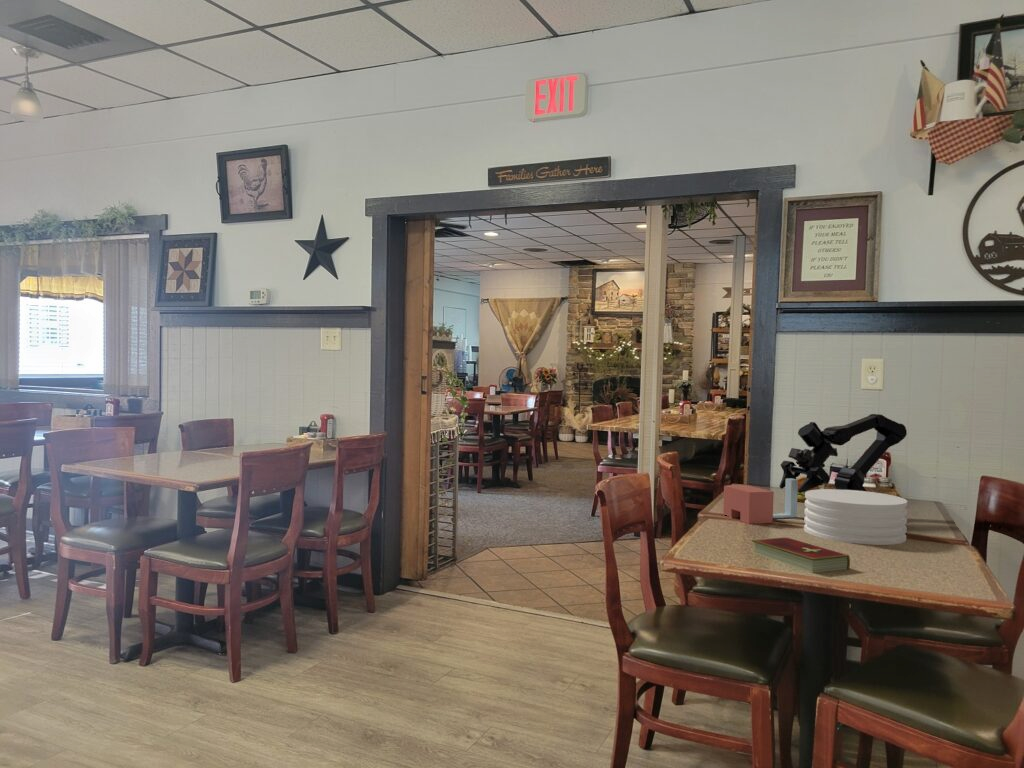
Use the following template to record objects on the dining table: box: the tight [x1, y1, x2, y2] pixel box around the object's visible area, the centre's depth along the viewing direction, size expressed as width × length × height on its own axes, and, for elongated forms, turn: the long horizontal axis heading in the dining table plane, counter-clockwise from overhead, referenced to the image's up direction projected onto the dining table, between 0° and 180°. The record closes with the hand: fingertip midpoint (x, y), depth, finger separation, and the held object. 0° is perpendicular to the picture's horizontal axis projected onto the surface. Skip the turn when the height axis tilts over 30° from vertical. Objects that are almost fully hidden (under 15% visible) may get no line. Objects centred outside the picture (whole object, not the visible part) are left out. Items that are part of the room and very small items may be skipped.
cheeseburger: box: [796, 476, 820, 503], centre depth 282 cm, size 10×11×10 cm
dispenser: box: [722, 484, 775, 525], centre depth 243 cm, size 10×14×10 cm
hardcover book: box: [751, 536, 851, 574], centre depth 189 cm, size 12×21×4 cm, turn 24°
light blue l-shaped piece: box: [773, 478, 798, 519], centre depth 247 cm, size 13×3×12 cm, turn 108°
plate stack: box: [803, 488, 908, 546], centre depth 224 cm, size 28×28×12 cm
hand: (789, 490), depth 248 cm, fingers open, 9 cm apart
